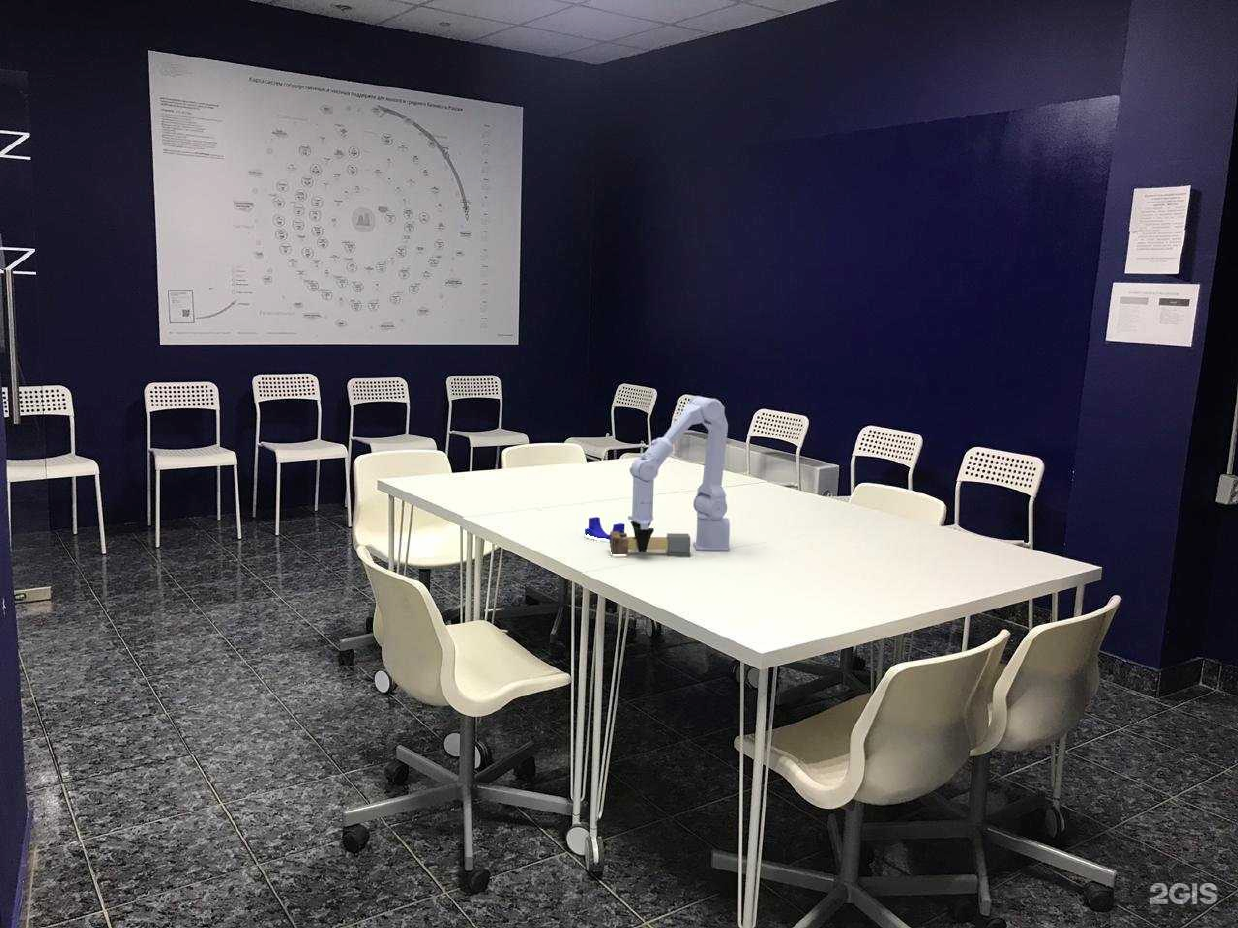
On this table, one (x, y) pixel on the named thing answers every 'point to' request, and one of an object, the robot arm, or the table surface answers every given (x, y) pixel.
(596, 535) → the cable clip
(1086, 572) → the table surface
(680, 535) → the sleeve
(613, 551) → the socket block
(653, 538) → the tube
